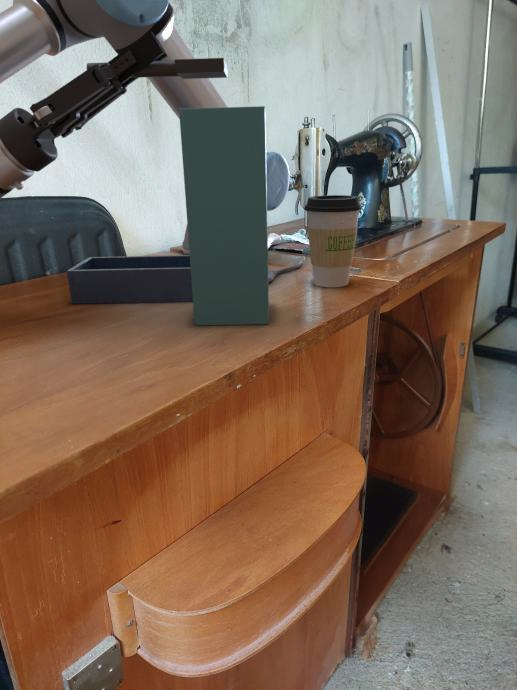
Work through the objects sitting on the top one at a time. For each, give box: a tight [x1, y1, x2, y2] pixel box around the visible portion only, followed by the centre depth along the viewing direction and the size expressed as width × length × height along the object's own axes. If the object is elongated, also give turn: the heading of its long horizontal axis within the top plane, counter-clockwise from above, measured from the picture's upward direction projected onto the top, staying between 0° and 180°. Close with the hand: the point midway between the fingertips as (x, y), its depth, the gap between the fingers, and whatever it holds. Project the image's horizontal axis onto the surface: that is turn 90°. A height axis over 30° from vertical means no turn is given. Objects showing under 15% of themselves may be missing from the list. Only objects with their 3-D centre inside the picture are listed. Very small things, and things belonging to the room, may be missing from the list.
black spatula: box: [86, 57, 229, 79], centre depth 66 cm, size 18×6×2 cm, turn 89°
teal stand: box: [179, 105, 270, 326], centre depth 72 cm, size 10×9×28 cm
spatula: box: [268, 232, 282, 249], centre depth 121 cm, size 28×4×3 cm, turn 173°
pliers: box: [268, 259, 303, 284], centre depth 102 cm, size 10×1×20 cm
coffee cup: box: [304, 194, 363, 288], centre depth 91 cm, size 10×10×15 cm
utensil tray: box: [66, 254, 193, 305], centre depth 89 cm, size 23×11×6 cm, turn 89°
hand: (159, 44), depth 65 cm, fingers closed on black spatula, 2 cm apart
